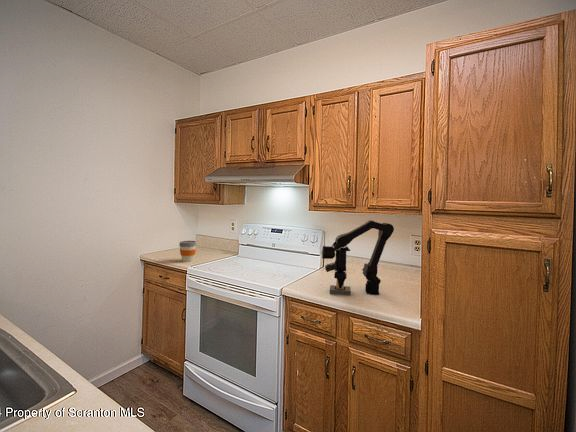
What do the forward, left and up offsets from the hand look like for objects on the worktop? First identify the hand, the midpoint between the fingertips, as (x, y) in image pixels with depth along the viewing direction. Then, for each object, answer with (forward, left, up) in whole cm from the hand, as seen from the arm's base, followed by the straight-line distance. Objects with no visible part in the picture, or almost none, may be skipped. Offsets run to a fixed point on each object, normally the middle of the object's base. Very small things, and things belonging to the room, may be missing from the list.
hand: (340, 286), depth 158 cm
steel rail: (0, 0, -3) cm, 3 cm away
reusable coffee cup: (+119, -48, -3) cm, 128 cm away
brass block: (0, 0, -2) cm, 2 cm away
